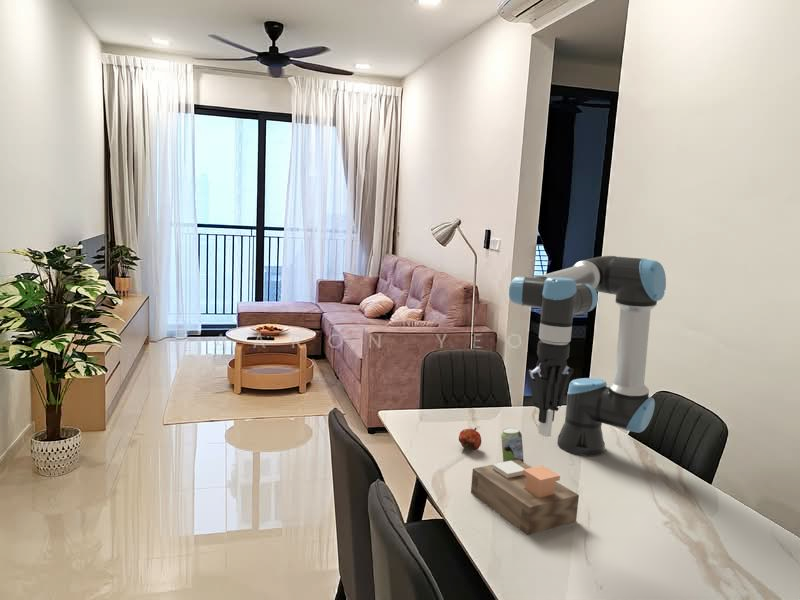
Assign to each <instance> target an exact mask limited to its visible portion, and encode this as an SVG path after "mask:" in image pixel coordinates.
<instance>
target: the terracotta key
mask: <svg viewBox="0 0 800 600" xmlns="http://www.w3.org/2000/svg"><path fill="white" fill-rule="evenodd" d="M523 474H524V475H525V476H527V477H526V488H525V490H527V491H528V492H530V493H531V494H533V495H534V496H536V497H538V498H542V497H546V496H550V495H554V490H555V481H556V482H559V481H560V479H561V475H559V474H558V473H556V472H555V471H553V470H551V469H549V468H547V467H545V466H544V465H539V466H534V467H532V468H528V469H523Z"/></svg>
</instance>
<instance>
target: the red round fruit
mask: <svg viewBox="0 0 800 600" xmlns="http://www.w3.org/2000/svg"><path fill="white" fill-rule="evenodd" d="M458 441H459V443H460V444H461V446H462V447H463V448H464V449H463V451H462V454H464V453H465V451H466V449H467V450H471V451H477V450H478V449H479V448H480V447H481V446H482V437H481V434H480V432H479V431H477V427H475V428H466V429H465V428H464V429H462V430H461V431H460V432H459V435H458Z"/></svg>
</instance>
